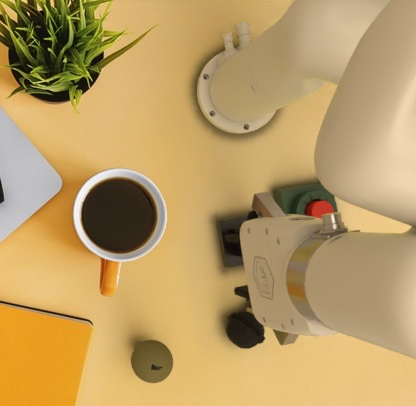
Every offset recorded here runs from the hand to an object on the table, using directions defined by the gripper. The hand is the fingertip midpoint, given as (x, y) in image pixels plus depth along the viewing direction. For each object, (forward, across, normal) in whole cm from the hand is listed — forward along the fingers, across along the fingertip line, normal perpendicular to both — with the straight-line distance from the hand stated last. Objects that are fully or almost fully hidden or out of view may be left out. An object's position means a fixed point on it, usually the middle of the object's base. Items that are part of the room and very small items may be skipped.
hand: (243, 262), depth 60 cm
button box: (+21, -3, +19) cm, 29 cm away
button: (+18, -3, +19) cm, 26 cm away
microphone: (+22, +9, +12) cm, 26 cm away
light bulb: (+22, +13, -9) cm, 27 cm away
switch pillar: (+22, 0, +9) cm, 23 cm away
